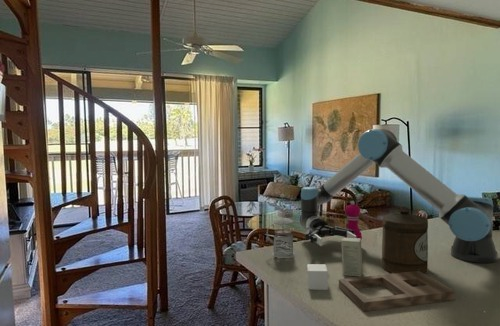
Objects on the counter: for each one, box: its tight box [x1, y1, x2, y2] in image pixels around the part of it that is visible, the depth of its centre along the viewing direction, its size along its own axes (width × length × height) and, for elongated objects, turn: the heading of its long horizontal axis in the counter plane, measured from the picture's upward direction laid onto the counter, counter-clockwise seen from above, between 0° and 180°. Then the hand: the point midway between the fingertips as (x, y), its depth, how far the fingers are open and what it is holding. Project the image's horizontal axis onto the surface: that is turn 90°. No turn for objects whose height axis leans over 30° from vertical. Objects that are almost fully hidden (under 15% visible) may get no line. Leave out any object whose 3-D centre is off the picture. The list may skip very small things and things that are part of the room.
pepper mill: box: [344, 200, 363, 240], centre depth 150 cm, size 7×7×20 cm
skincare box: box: [340, 236, 363, 277], centre depth 121 cm, size 6×4×12 cm
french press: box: [265, 193, 296, 259], centre depth 143 cm, size 10×12×25 cm
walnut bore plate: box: [338, 271, 456, 312], centre depth 105 cm, size 28×16×2 cm, turn 100°
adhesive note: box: [306, 263, 329, 291], centre depth 113 cm, size 6×6×6 cm
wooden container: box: [381, 206, 429, 275], centre depth 124 cm, size 15×15×22 cm
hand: (338, 240), depth 130 cm, fingers open, 13 cm apart
